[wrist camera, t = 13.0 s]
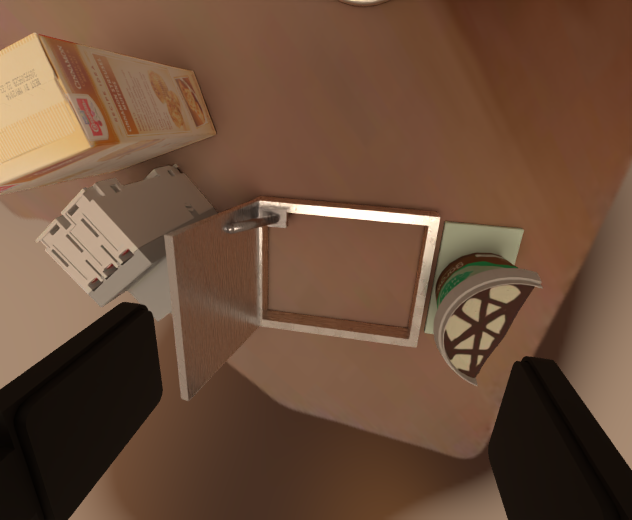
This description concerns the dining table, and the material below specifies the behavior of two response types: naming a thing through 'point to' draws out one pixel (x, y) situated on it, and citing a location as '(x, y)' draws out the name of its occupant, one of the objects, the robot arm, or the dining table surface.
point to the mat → (471, 250)
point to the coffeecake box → (89, 112)
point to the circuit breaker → (125, 236)
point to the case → (262, 282)
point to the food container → (477, 308)
